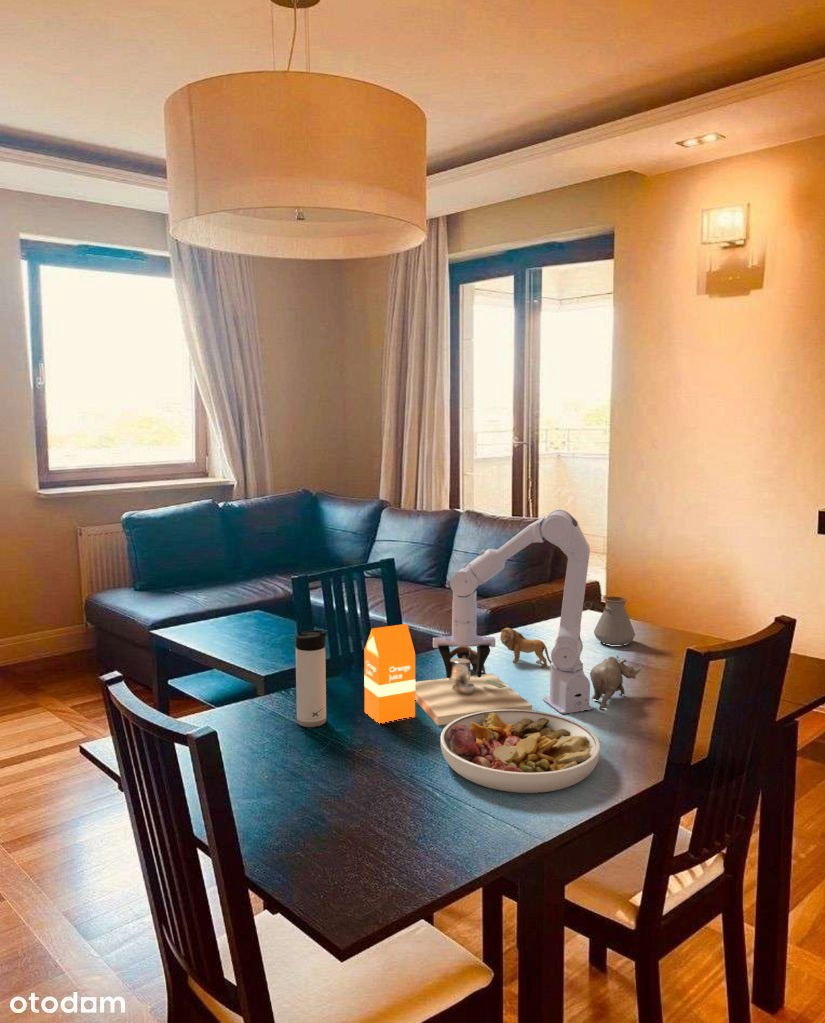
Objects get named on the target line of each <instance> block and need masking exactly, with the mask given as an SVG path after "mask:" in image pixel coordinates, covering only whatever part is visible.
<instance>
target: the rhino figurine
mask: <svg viewBox="0 0 825 1023" xmlns="http://www.w3.org/2000/svg"><path fill="white" fill-rule="evenodd" d="M619 659H620V657H619V655H616V657H615V656H609V657H608V658H604V659H603V660H602V662H600V663H598V664H596V665H595V666H593V667H592V669H591V670H590V673H589V677H590V681H591V683H592V684H591V685H592V687H593V689H594V693H593V695H592V697H591V699H596V700H599V701H600V699H601V696H603V697H602V699H601V702H600V705H599V708H600V707H601V708H607V709H608V707H607V702H608V700H609V699H610V698H611V697H612V696H613V695H614V694H615V693H616V692H618V691H620V694H624V695H625V688H624V686H623V682H624V681H623V680H624V679H623V678H624V677H625V678H626V679H634V680H635V679H636V678H637V675H638V674H639V673H640V672H641V670H642V668H643V666H640V667H639V668H635V669H634V666H631V665H629V666H628V665H626V664H625V663H626V662H627V659H626V657H623V659H621V660H619ZM623 676H624V677H623ZM601 708H600V709H601Z"/></svg>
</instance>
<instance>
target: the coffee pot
mask: <svg viewBox="0 0 825 1023" xmlns="http://www.w3.org/2000/svg"><path fill="white" fill-rule="evenodd" d="M603 600H604V601H605V607H604V606H603V605H602V604H599V603H598V602H595V601H591V600H588V601H585V602H583V607H586V603H588V604H589V605H590V606H589V607H588V609H590V608H591V607H594V608H597V609H600V610H602V611H603V612H602V613H601V615H600V618H599V620H598V622H597V624H596V626H595V628H594V630H593V633H594V636H595V638H596V639H597V641H599V642H600V641H601V642H602V643H605V644H610V645H624V644H627V643H628V644H630V643H631V642H633V640H634V638H635V637H636V633H635V630H634V627H633V625H632V623H631V620H630V617H629V615H628V612H627V610H626V603H627V602H628V598H625V597H621V596H604V598H603ZM601 642H600V643H601ZM602 643H601V644H602Z"/></svg>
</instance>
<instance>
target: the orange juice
mask: <svg viewBox="0 0 825 1023" xmlns="http://www.w3.org/2000/svg"><path fill="white" fill-rule="evenodd" d="M363 649H364V652H363V653H364V655H363V656H364V664H363V665H364V668H363V669H364V675H363V676H364V682H363V683H364V684H363V686H364V713H365V714H366V715H367V714H368V715H367V716H369V717H370V718H371V719H372V720H373V719H374V720H373V721H375V723H377V722H378V723H379V724H378V723H377V724H378V725H381V724H380V723H382V724H386V723H385V722H387V723H390V722H389V721H392V722H395V721H394V720H397V721H399V720H398V719H402V720H404V719H403V718H407V719H410V718H409V717H412V718H416V701H415V682H416V652H415V648H414V644H413V641H412V637H411V633H410V629H409V626H408V623H405V624H404V623H403V624H395V625H388V626H382V627H374V628H371V630H370V633H369V636H368V639H367V641H366V644H365V647H364V648H363Z"/></svg>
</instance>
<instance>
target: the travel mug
mask: <svg viewBox="0 0 825 1023" xmlns="http://www.w3.org/2000/svg"><path fill="white" fill-rule="evenodd" d="M327 633H328V632H327V631H326V630H320V629H315V630H313V629H312V630H306V631H303V632H300V633H298V634H297V635H296V636H295V682H296V683H295V687H296V689H295V690H296V697H295V698H296V723H297V724H298V725H299V726H300V727H304V728H305V727H306V728H316V726H317V727H320V726H322V725H324V724H325V723H326V722H327V693H326V692H327V689H326V688H327V683H326V682H327V679H326V678H327V676H326V672H327V671H326V670H327V668H326V666H327V665H326V661H327V660H326V636H328V635H327Z"/></svg>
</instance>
